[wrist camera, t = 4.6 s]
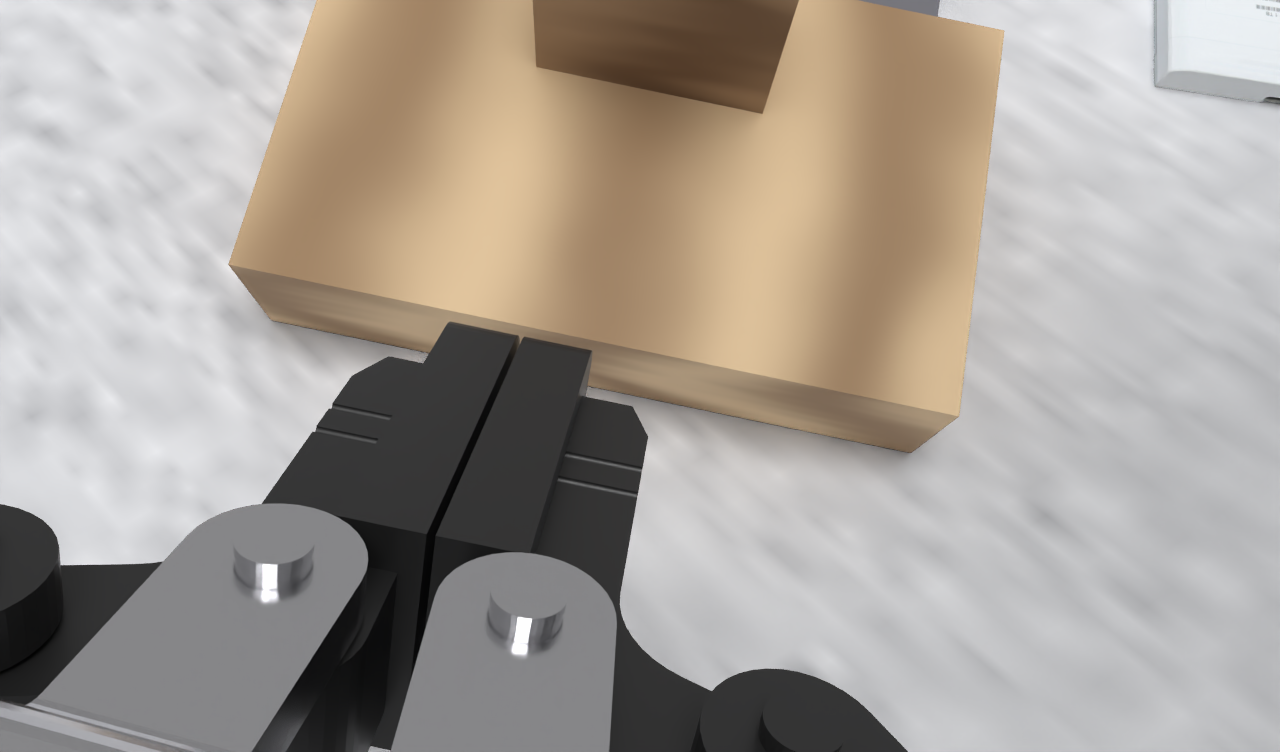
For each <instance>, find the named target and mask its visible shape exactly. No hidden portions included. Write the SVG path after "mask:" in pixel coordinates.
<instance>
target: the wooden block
mask: <svg viewBox="0 0 1280 752" xmlns="http://www.w3.org/2000/svg"><path fill="white" fill-rule="evenodd" d="M1003 38H1004V30H999V29H994V28H989V27H984V26H980V25H975V24H970V23H965V22H960V21H955V20H951V19H946V18H941V17H936V16H931V15H926V14H922V13H917V12H912V11H907V10H902V9H898V8H893V7H888V6H883V5H878V4H873V3H869V2H864V1H859V0H799V2H798V5H797V8H796V11H795V14H794V17H793V20H792V24H791V27H790V30H789V33H788V36H787V39H786V42H785V45H784V49H783V52H782V55H781V58H780V61H779V64H778V67H777V71H776V74H775V77H774V80H773V83H772V86H771V89H770V92H769V96H768V99H767V102H766V105H765V108H764V111H763V114H760V113H755V112H751V111H746V110H741V109H736V108H731V107H727V106H722V105H717V104H712V103H707V102H702V101H698V100H693V99H688V98H683V97H678V96H674V95H669V94H664V93H659V92H654V91H649V90H645V89H640V88H635V87H630V86H625V85H620V84H616V83H611V82H606V81H601V80H596V79H592V78H587V77H582V76H577V75H572V74H567V73H563V72H558V71H553V70H548V69H543V68H539V67H536V53H535V34H534V16H533V0H317V1H316V4H315V7H314V10H313V13H312V16H311V19H310V22H309V25H308V28H307V31H306V34H305V37H304V40H303V43H302V46H301V49H300V52H299V55H298V58H297V61H296V64H295V67H294V70H293V73H292V76H291V79H290V82H289V85H288V88H287V91H286V94H285V97H284V100H283V103H282V106H281V109H280V112H279V115H278V118H277V121H276V124H275V127H274V130H273V133H272V136H271V139H270V142H269V145H268V148H267V151H266V154H265V157H264V160H263V163H262V166H261V169H260V172H259V175H258V178H257V181H256V184H255V187H254V190H253V193H252V196H251V199H250V201H249V204H248V207H247V210H246V213H245V216H244V219H243V222H242V225H241V228H240V231H239V234H238V237H237V240H236V243H235V246H234V249H233V252H232V255H231V258H230V261H229V264H228V265H229V266H230V267H231V269H232V270H233V271H234V272H235V274H236V275H237V276H238V278H239V279H240V280H241V282H242V283H243V284H244V285H245V287H246V288H247V289H248V291H249V292H250V293H251V295H252V296H253V297H254V299H255V300H256V301H257V302H258V304H259V305H260V306H261V308H262V309H263V310H264V312H265V313H266V314H267V315H268V317H269V318H270V319H271V320H273V321H278V322H283V323H287V324H292V325H297V326H302V327H307V328H311V329H316V330H321V331H326V332H331V333H336V334H340V335H345V336H350V337H355V338H360V339H364V340H369V341H374V342H379V343H384V344H388V345H393V346H398V347H403V348H408V349H413V350H417V351H422V352H427V353H430V351H431V350H432V348H433V346H434V345H435V343H436V341H437V340H438V338H439V336H440V335H441V333H442V331H443V330H444V328H445V326H446V325H447V323H448V322H456V323H461V324H466V325H470V326H475V327H480V328H485V329H490V330H495V331H499V332H504V333H509V334H514V335H519V338H520V343H521V341H522V339H523V337H530V338H534V339H539V340H544V341H549V342H554V343H559V344H563V345H568V346H573V347H578V348H583V349H588V350H592V351H593V353H592V362H591V368H590V374H589V379H588V385H587V386H591V387H595V388H600V389H605V390H610V391H615V392H619V393H624V394H629V395H634V396H639V397H644V398H648V399H653V400H658V401H663V402H668V403H672V404H677V405H682V406H687V407H692V408H696V409H701V410H706V411H711V412H716V413H721V414H725V415H730V416H735V417H740V418H745V419H749V420H754V421H759V422H764V423H769V424H773V425H778V426H783V427H788V428H793V429H798V430H802V431H807V432H812V433H817V434H822V435H826V436H831V437H836V438H841V439H846V440H850V441H855V442H860V443H865V444H870V445H874V446H879V447H884V448H889V449H894V450H899V451H903V452H908V453H912V452H913V451H914V450H916V449H917V448H918V447H920V446H921V445H922V444H923V443H925V442H926V441H927V440H929V439H930V438H931V437H933V436H934V435H935V434H937V433H938V432H939V431H940V430H942V429H943V428H944V427H946V426H947V425H948V424H950V423H951V422H952V421H954V420H955V419H956V418H958V417H959V413H960V404H961V396H962V387H963V379H964V370H965V362H966V353H967V345H968V336H969V327H970V319H971V310H972V302H973V293H974V285H975V276H976V268H977V259H978V251H979V242H980V234H981V225H982V217H983V208H984V200H985V191H986V183H987V174H988V166H989V157H990V149H991V140H992V132H993V123H994V115H995V106H996V98H997V89H998V80H999V72H1000V63H1001V55H1002V46H1003Z"/></svg>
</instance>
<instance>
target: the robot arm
mask: <svg viewBox="0 0 1280 752" xmlns="http://www.w3.org/2000/svg"><path fill="white" fill-rule="evenodd" d="M592 353H593V351H592V350H588V349H583V348H578V347H573V346H568V345H563V344H559V343H554V342H549V341H544V340H539V339H534V338H530V337H523V339H522V341H521V343H520V338H519V335H514V334H509V333H504V332H499V331H495V330H490V329H485V328H480V327H475V326H470V325H466V324H461V323H456V322H448V323H447V325H446V326H445V328H444V330H443V331H442V333H441V335H440V336H439V338H438V340H437V341H436V343H435V345H434V346H433V348H432V350H431V351H430V353H429V355H428V356H427V358H426V360H425V361H424V363H418V362H413V361H408V360H404V359H399V358H394V357H387V358H385V359H383V360H381V361H379V362H377V363H375V364H374V365H372V366H370V367H368V368H366V369H364V370H362V371H360V372H358V373H357V374H355V375H353V376H352V377H351V378H350V379H349V381H348V382H347V384H346V385H345V387H344V388H343V389H342V391H341V392H340V394H339V395H338V396H337V398H336V399H335V401H334V402H333V405H332V409H328V411H327V412H326V413H325V415H324V416H323V418H322V419H321V421H320V422H319V423H318V425H317V428H316V432H312V433H311V435H310V436H309V438H308V439H307V440H306V442H305V443H304V445H303V446H302V448H301V449H300V450H299V452H298V453H297V455H296V456H295V457H294V459H293V460H292V462H291V463H290V465H289V466H288V467H287V469H286V470H285V472H284V473H283V474H282V476H281V477H280V479H279V480H278V482H277V483H276V484H275V486H274V487H273V489H272V490H271V491H270V493H269V494H268V496H267V497H266V499H265V500H264V501H263V503H262V504H259V505H251V506H246V507H241V508H237V509H233V510H230V511H227V512H224V513H221V514H219V515H217V516H215V517H213V518H211V519H209V520H207V521H205V522H204V523H202V524H201V525H199V526H198V527H196V528H195V529H194V530H193V531H192V532H191V533H190V534H189V535H187V537H186V538H185V539H184V540H183V541H182V542H181V543H180V544H179V545H178V546H177V547H176V548H175V549H174V551H173V552H172V553H171V554H170V555H169V556H168V557H167V558H166V559H165V560H164V561H163V562H157V563H147V564H122V565H60V553H59V545H58V541H57V537H56V535H55V534H54V532H53V530H52V529H51V528H50V527H49V526H48V525H47V524H46V523H45V522H44V521H43V520H41V519H40V518H38V517H36V516H35V515H33V514H31V513H29V512H26V511H24V510H21V509H19V508H15V507H11V506H6V505H1V504H0V752H368V750H369V747H370V746H373V747H378V748H383V749H388V750H391V752H908V751H907V750H906V749H905V748H904V747H903V746H902V745H901V744H900V743H899V742H898V741H897V740H896V739H895V738H894V737H893V736H892V735H891V734H890V733H889V732H888V731H887V730H886V728H885V727H884V726H883V725H882V724H881V723H880V722H879V721H878V720H877V719H876V718H875V717H874V716H873V715H872V714H871V713H870V712H869V711H868V710H867V709H866V708H865V707H864V706H863V705H861V704H860V703H859V702H858V701H857V700H856V699H854V698H853V697H851V696H850V695H849V694H847V693H846V692H844V691H843V690H841V689H839V688H837V687H835V686H834V685H832V684H830V683H828V682H825V681H823V680H821V679H818V678H816V677H813V676H810V675H807V674H803V673H800V672H795V671H789V670H783V669H759V670H751V671H747V672H743V673H739V674H737V675H734V676H732V677H730V678H728V679H726V680H725V681H723V682H722V683H720V684H719V685H718V686H716V687H715V689H714V690H713V691H710V690H708V689H706V688H704V687H701V686H699V685H697V684H695V683H693V682H691V681H689V680H687V679H685V678H683V677H681V676H679V675H677V674H675V673H673V672H672V671H670V670H668V669H666V668H665V667H664V666H662V665H661V664H659V663H658V662H656V661H655V660H654V659H652V658H651V657H650V656H649V655H648V654H647V653H646V652H645V651H644V650H643V649H642V648H641V647H640V646H639V645H638V644H637V642H636V641H635V640H634V639H633V638H632V636H631V634H630V633H629V631H628V629H627V628H626V626H625V623H624V621H623V618H622V615H621V610H620V591H621V586H622V580H623V575H624V569H625V563H626V558H627V552H628V546H629V541H630V535H631V529H632V524H633V518H634V513H635V507H636V501H637V495H638V490H639V484H640V479H641V472H642V467H643V462H644V456H645V451H646V445H647V439H648V436H647V434H646V432H645V430H644V428H643V426H642V424H641V422H640V420H639V418H638V416H637V414H636V413H635V411H634V409H633V407H632V406H627V405H622V404H618V403H613V402H608V401H603V400H598V399H593V398H589V397H585V396H586V390H587V385H588V379H589V374H590V368H591V362H592Z"/></svg>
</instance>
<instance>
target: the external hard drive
mask: <svg viewBox="0 0 1280 752" xmlns="http://www.w3.org/2000/svg"><path fill="white" fill-rule="evenodd" d="M1154 86H1155V87H1162V88H1169V89H1176V90H1182V91H1189V92H1195V93H1202V94H1208V95H1215V96H1221V97H1228V98H1234V99H1241V100H1248V101H1254V102H1264V101H1266V102H1272V103H1279V104H1280V0H1154Z"/></svg>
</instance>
